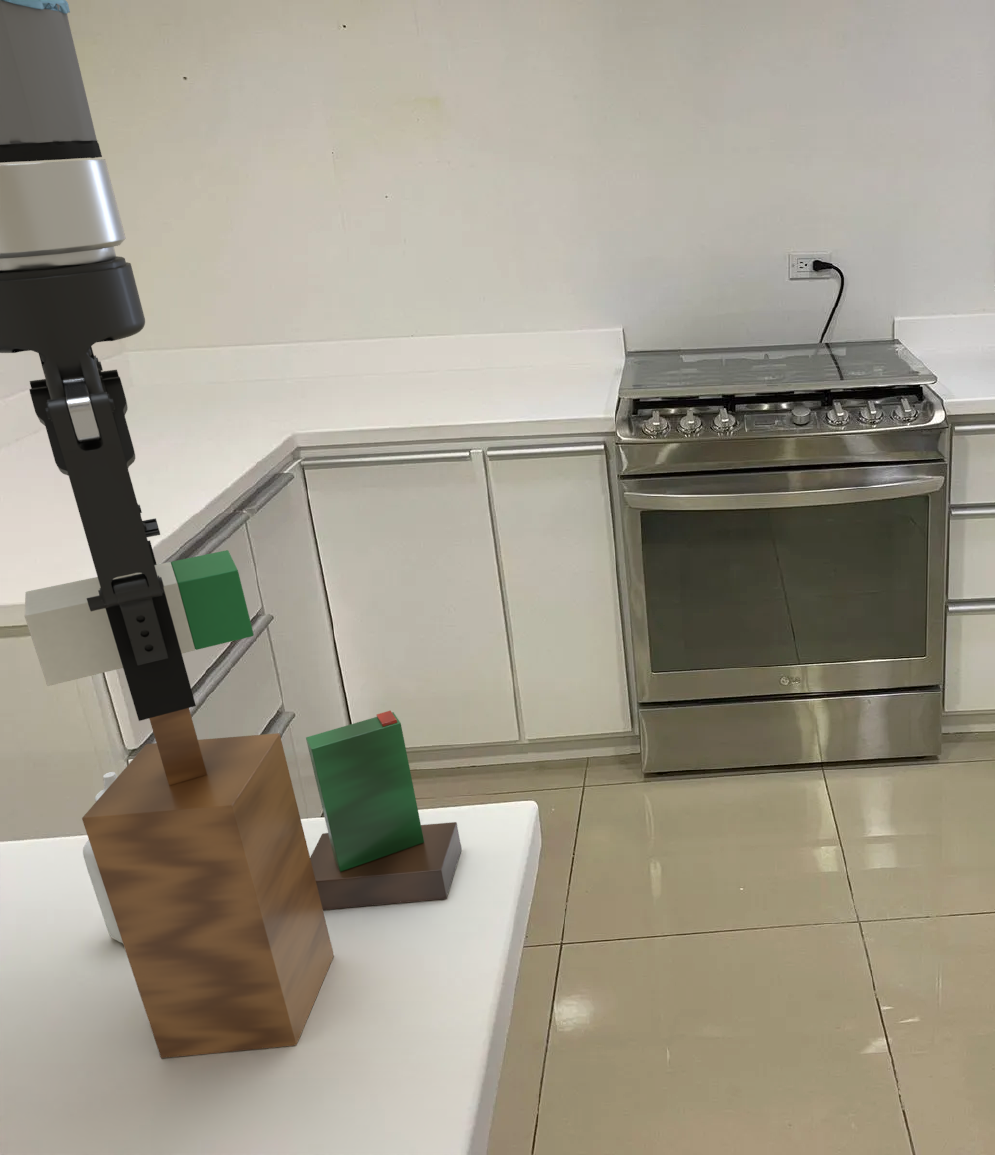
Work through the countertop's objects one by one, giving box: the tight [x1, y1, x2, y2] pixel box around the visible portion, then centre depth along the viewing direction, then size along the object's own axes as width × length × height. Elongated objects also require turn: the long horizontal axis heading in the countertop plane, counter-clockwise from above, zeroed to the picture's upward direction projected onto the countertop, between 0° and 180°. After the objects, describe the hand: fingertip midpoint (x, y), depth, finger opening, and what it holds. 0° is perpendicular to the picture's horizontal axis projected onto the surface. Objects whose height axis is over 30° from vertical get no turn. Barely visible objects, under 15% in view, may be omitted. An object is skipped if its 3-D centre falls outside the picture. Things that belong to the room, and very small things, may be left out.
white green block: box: [24, 549, 254, 687], centre depth 61 cm, size 10×4×4 cm, turn 121°
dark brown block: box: [310, 821, 462, 911], centre depth 82 cm, size 10×6×2 cm, turn 94°
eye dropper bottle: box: [82, 771, 123, 944], centre depth 77 cm, size 4×6×12 cm
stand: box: [81, 708, 335, 1059], centre depth 67 cm, size 8×8×25 cm
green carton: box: [305, 710, 424, 872], centre depth 80 cm, size 6×2×10 cm, turn 122°
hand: (159, 678), depth 63 cm, fingers open, 8 cm apart
